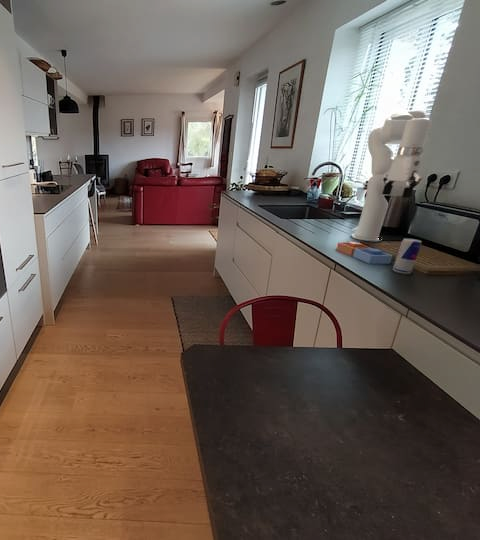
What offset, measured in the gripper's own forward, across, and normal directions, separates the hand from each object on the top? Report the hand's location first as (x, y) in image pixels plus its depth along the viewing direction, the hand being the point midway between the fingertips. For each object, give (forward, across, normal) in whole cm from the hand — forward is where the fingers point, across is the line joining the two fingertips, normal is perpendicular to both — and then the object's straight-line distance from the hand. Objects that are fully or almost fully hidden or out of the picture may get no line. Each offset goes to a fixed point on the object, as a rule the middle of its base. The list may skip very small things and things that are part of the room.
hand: (395, 195), depth 136 cm
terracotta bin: (+24, -2, +14) cm, 28 cm away
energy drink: (+24, -26, +13) cm, 38 cm away
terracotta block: (+24, -2, +14) cm, 28 cm away
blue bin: (+24, -12, +14) cm, 31 cm away
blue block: (+24, -12, +14) cm, 30 cm away
